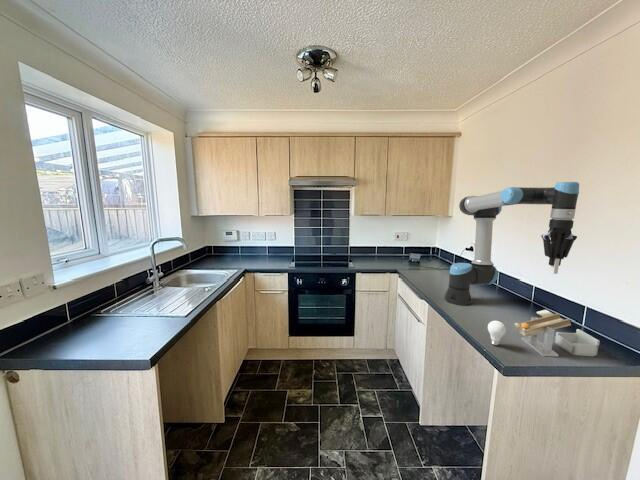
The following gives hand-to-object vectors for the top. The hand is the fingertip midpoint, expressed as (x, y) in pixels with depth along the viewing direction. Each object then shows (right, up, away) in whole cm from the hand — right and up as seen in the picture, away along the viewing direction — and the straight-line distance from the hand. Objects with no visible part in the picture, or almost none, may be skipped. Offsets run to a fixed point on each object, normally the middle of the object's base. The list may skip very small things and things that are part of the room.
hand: (553, 272), depth 115 cm
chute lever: (-7, -23, +1) cm, 24 cm away
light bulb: (-26, -32, 0) cm, 41 cm away
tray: (+7, -33, -3) cm, 33 cm away
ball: (-14, -23, -2) cm, 27 cm away
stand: (-8, -32, -1) cm, 33 cm away
